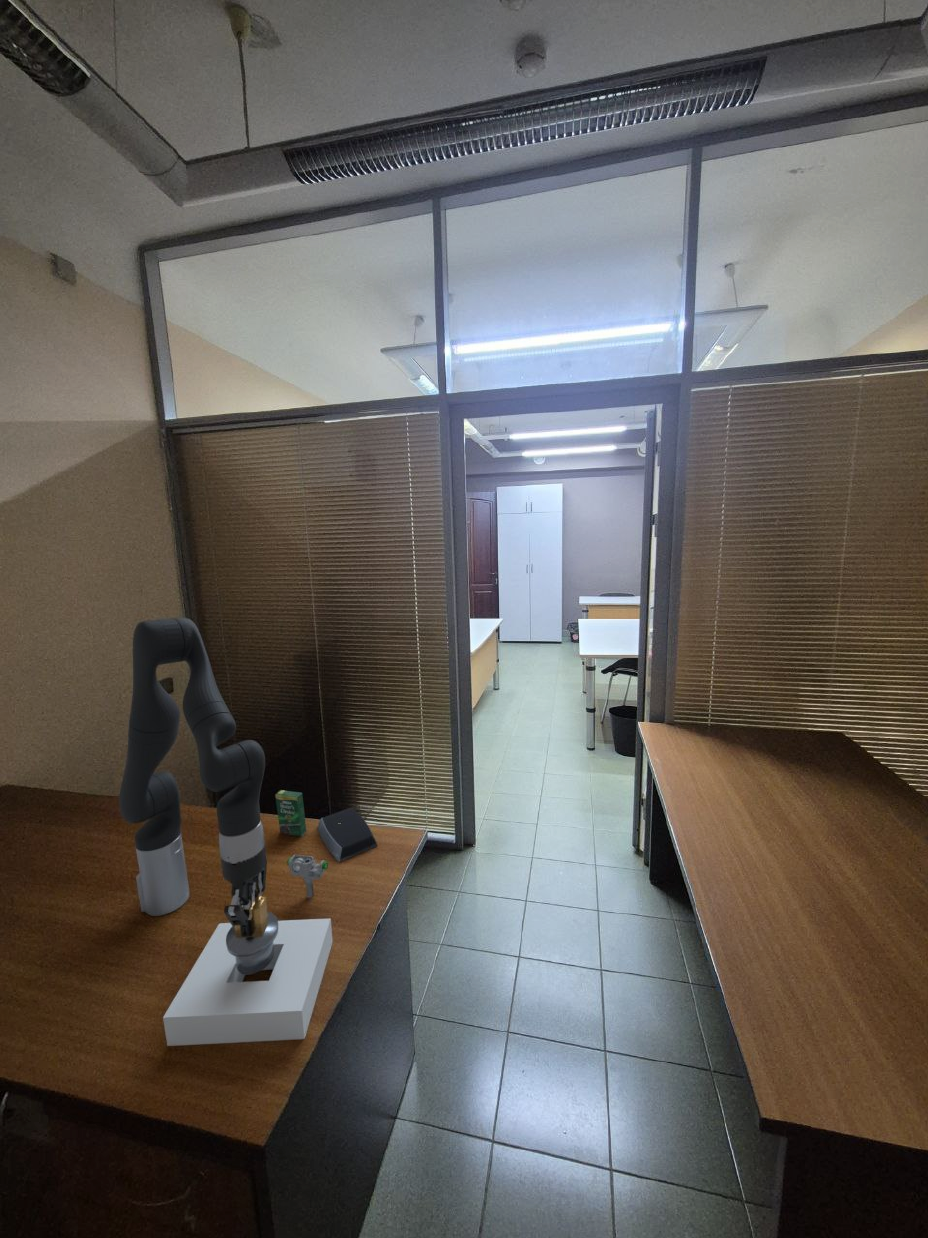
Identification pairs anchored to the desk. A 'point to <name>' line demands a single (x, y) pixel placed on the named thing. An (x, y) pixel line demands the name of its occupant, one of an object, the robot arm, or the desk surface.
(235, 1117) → the desk surface
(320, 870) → the mechanical component
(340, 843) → the external hard drive
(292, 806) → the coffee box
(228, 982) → the housing
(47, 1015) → the desk surface
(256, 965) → the end cap
